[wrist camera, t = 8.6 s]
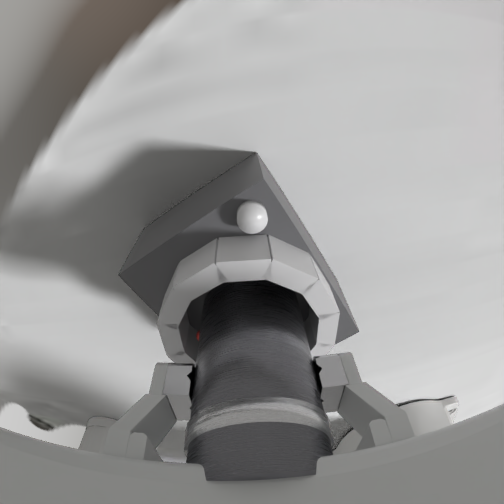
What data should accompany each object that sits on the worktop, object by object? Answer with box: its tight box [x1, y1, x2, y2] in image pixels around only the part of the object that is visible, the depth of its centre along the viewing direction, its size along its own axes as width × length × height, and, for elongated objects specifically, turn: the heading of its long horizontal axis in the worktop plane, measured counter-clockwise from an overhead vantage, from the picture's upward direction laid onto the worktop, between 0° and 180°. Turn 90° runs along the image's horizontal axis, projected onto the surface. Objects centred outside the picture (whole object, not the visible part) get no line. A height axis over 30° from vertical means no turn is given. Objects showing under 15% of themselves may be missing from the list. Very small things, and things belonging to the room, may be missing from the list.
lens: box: [184, 280, 334, 481], centre depth 11 cm, size 5×5×9 cm
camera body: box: [118, 152, 359, 367], centre depth 17 cm, size 10×9×7 cm
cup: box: [79, 417, 117, 454], centre depth 26 cm, size 8×8×12 cm
